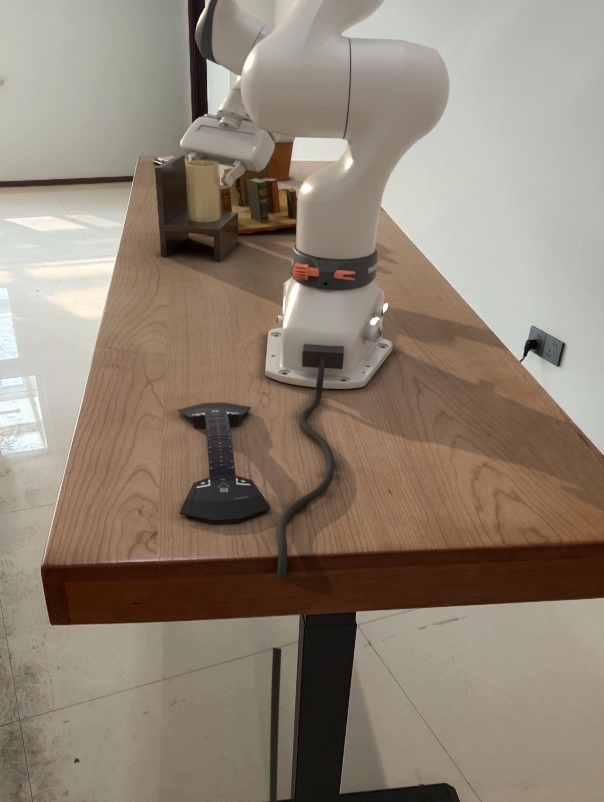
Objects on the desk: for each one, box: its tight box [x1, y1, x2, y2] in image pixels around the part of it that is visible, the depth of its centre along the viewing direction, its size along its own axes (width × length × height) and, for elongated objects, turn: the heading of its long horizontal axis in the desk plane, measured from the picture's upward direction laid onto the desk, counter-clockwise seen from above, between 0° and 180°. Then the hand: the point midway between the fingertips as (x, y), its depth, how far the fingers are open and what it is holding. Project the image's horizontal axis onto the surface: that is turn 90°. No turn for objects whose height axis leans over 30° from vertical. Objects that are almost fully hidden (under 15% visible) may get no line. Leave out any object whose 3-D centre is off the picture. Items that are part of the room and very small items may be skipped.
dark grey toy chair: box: [154, 154, 239, 262], centre depth 144 cm, size 14×12×16 cm
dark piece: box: [177, 402, 272, 525], centre depth 82 cm, size 9×25×3 cm, turn 8°
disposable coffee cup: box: [268, 134, 296, 181], centre depth 205 cm, size 10×10×12 cm
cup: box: [185, 160, 221, 222], centre depth 143 cm, size 6×6×10 cm
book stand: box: [207, 163, 298, 236], centre depth 167 cm, size 35×24×15 cm
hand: (207, 180), depth 142 cm, fingers open, 8 cm apart
